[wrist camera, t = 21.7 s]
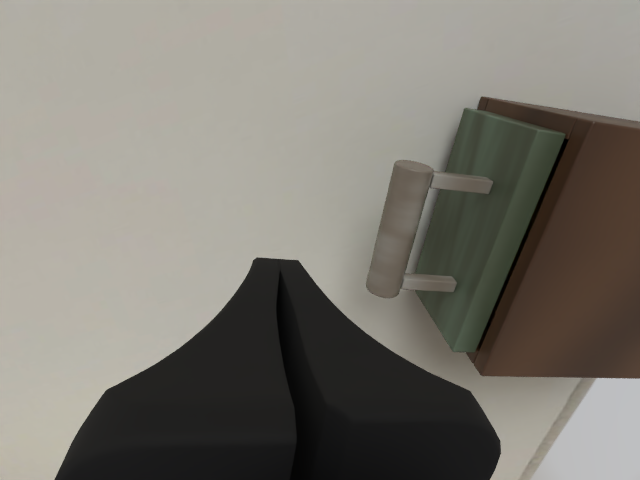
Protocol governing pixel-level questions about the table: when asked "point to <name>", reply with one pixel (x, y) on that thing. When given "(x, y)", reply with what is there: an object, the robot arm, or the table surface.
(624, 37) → the table surface
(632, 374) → the cabinet
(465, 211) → the drawer
